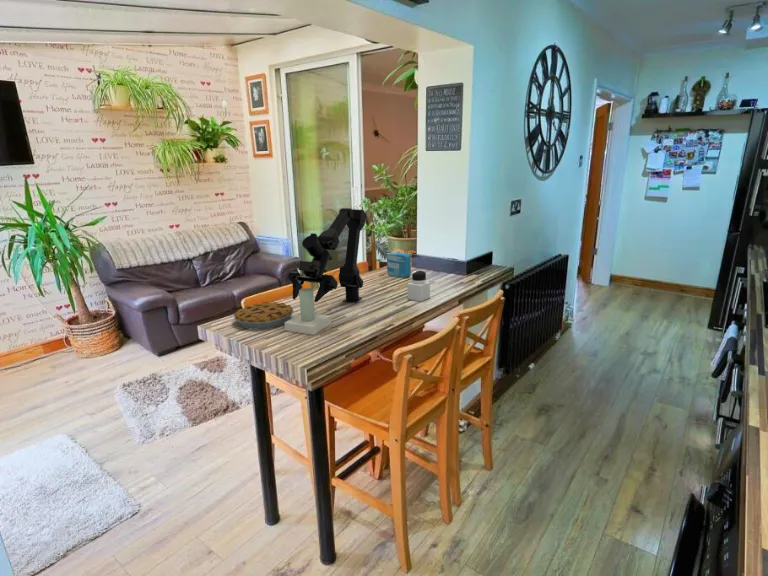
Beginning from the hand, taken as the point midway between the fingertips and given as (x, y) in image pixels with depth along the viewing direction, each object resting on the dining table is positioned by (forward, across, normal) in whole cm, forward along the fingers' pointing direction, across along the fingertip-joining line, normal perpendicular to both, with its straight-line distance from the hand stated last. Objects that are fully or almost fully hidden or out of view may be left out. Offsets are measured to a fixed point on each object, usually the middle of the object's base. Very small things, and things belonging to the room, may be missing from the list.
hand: (304, 300), depth 158 cm
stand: (+6, 0, +8) cm, 11 cm away
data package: (-50, +3, +65) cm, 82 cm away
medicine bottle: (-26, +26, +42) cm, 56 cm away
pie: (+7, -20, +9) cm, 23 cm away
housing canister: (+4, 0, +6) cm, 8 cm away
